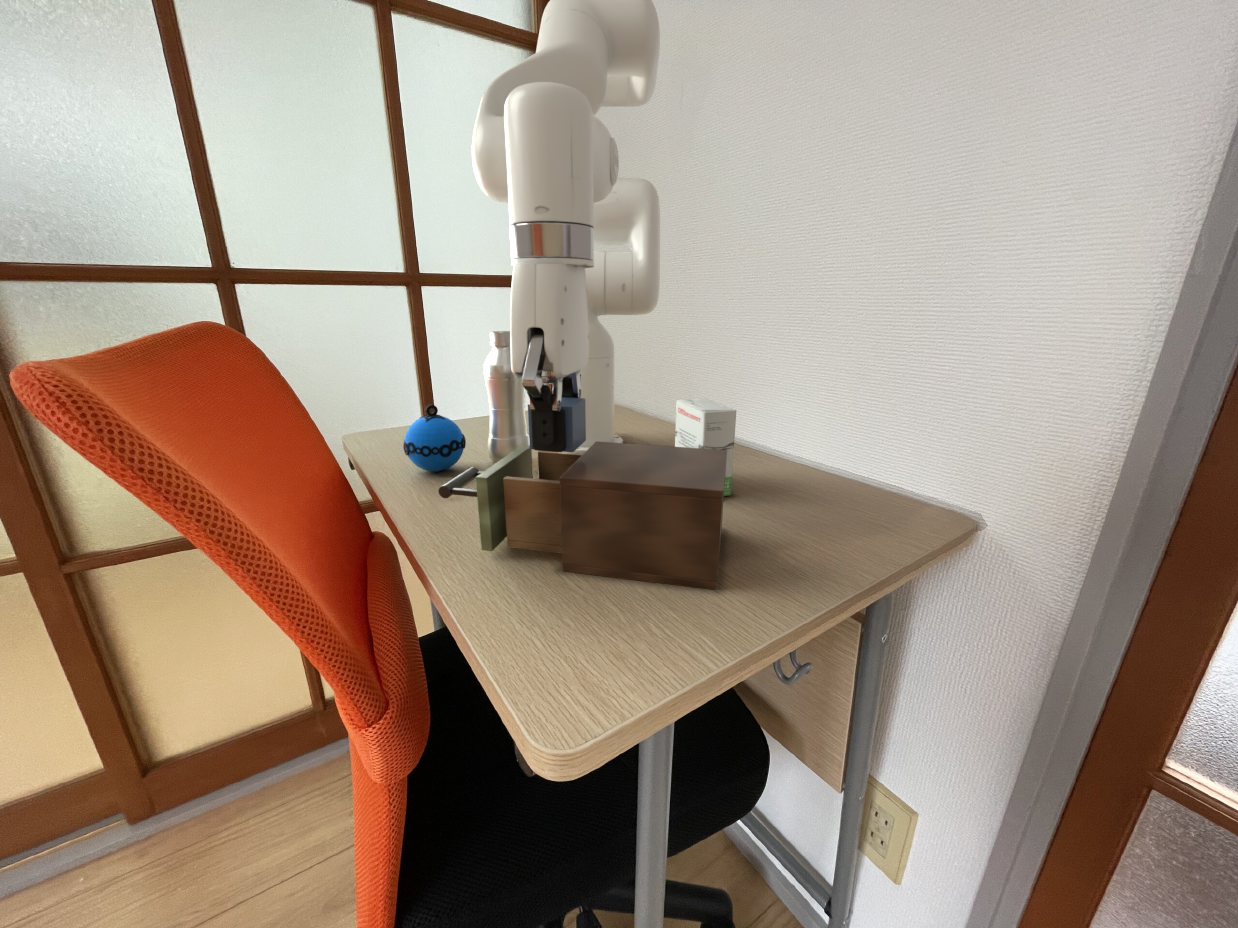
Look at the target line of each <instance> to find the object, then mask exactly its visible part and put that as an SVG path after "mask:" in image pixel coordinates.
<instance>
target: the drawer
mask: <svg viewBox="0 0 1238 928" xmlns="http://www.w3.org/2000/svg"><path fill="white" fill-rule="evenodd" d="M532 450H533V449H530V446H523V445H522V446H520V447H519V448H518V449H516V450H515V451H513V452H512V453H510V454H509V455H507V456H506V457H504V458H503V459H502V460H500V461H499V462H497V463H494V464H492V465H491V466H490V467H488V468H487V469H486V470H484V471H480V470H479V469H478V468H477V467H476V466H470V467H469V468H467V469H466V470H464V471H463V472H461V473H460V474H458V475H457V476H455V477H453V478H452V479H450V480H449V481H446V483H444V484H442V485H440V486H439V487H438V494H439V496H440V497H441V498H443V499H449V498H451V496H462V497H473V498H474V497H475V498H477V499H476V500H477V508H478V509H477V510H478V511H477V512H478V523H479V533H480V535H479V536H480V546H481V551H485V552H493V551H495V549H497V547H498V546H499V545H500V544H501V543H502V542H503V541H504V540H505V539H506V544H507V545H506V546H507V548H511V549H512V548H513V549H521V550H529V551H538V552H547V553H555V554H556V553H557V554H562V537H561V503H560V477H561V476H562V475H563V474H564V473H565V472H566V471H567V470H568V469H569V468H570V467H571V466H572V465H573V464H574V463H575V462H576V461H577V460H578V459H579V458H580V457H581V456H582V455H583V454H584V453H573V452H551V451H537V466H538V467H537V468H538V478H534V473H533V451H532ZM474 481H475V487H476V489H474V488H473V489H472V488H465V487H466V486H468V485H470V484H471V483H472V482H474Z"/></svg>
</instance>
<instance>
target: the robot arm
mask: <svg viewBox="0 0 1238 928" xmlns="http://www.w3.org/2000/svg"><path fill="white" fill-rule="evenodd" d="M660 31H661V30H660V21H659V17H658V13H657V9H656V7H655V3H654V2H653V0H549V1H548V2H547V4H546V6H545V8H544V10H543V13H542V16H541V20H540V25H539V33H538V37H537V43H536V49H535V53H534V54H532V55H530V56H527V58H525V59H523V60H521V61H520V62H518V63H517V64H515V65H514V66H512V67H511V68H509V69H507V70H506V71H504V72H503V73H501V74H499V75H498V76H497V77H496V78H494V80H493V81H491V82H490V83H489V85H488V86H487V88H486V89H485V90H484V92H483V95H482V97H481V100H480V102H479V106H478V109H477V113H476V118H475V122H474V127H473V132H472V142H471V161H472V168H473V173H474V177H475V179H476V182H477V184H478V186H479V187H480V189H481V191H482V192H483V193H484V194H485V195H486V196H487V197H488V198H490V199H491V200H493V201H496V202H499V203H504V204H508V217H509V218H508V219H509V220H508V221H509V241H510V259H511V261H510V263H511V267H513V268H512V276H511V289H510V303H509V304H510V305H509V307H510V308H509V331H510V348H511V370H512V372H513V374H514V375H515V376H516V377H522V385H523V387H524V388H525V389H526V391H525V392H526V393H527V395H528V398H529V399H528V400H529V401H528V402H529V403H528V404H529V408H530V410H531V420H532V443H533V449H532V450H534V451H537V452H539V451H551V452H563V451H564V450H565V449H566V434H565V410H561V400H562V397H566V398H585V414H586V441H585V442H584V443H583V444H582V445H580V446H579V447H578V448H577V449H576V450H575V451H574V452H573V453H585V452H586V451H587V450H588V449H589V448H590V447H591V446H592V445H593V444H594V443H595V442H596V441H597V442H612V443H624V440H623V437H621V436H620V435H618V434H615V344H614V343H615V342H614V340H613V337H612V335H611V334H610V332H609V331H608V330H607V328H606V327H605V326H604V325H603V324H602V322H601V321H600V320H599V317H600V316H616V315H617V316H640V315H647V314H650V313H652V312H653V311H654V310H655V309H656V307H657V305H658V303H659V298H660V289H661V288H660V285H661V282H660V281H661V280H660V279H661V205H660V204H661V203H660V199H659V194H658V190H657V188H656V186H655V185H654V184H653V183H652V182H651V181H649V180H647V179H645V178H639V177H637V178H636V177H619V169H620V167H619V166H620V165H619V160H620V159H619V151H618V144H617V142H616V139H615V137H612V135H611V133H610V131H609V129H608V127H607V126H606V125H605V123H603V121H602V120H600V118H598V117H597V116H595V115H596V114H597V113H598V112H599V111H600V109H601V108H602V107H603V108H604V107H605V108H607V107H614V108H615V107H619V108H621V107H624V108H625V107H627V108H628V107H629V108H630V107H641V106H644V105H646V104H648V103H649V102H650V101H651V99H652V97H653V94H654V92H655V89H656V86H657V85H656V84H657V77H658V69H659V68H658V67H659V59H660V48H661V32H660ZM595 246H626V247H628V248H629V250H630V251H613V250H612V251H610V250H609V251H607V250H595ZM543 372H550V376H549V375H543ZM548 384H549V385H548ZM550 385H551V387H552V390H551V388H550Z"/></svg>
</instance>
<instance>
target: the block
mask: <svg viewBox="0 0 1238 928" xmlns="http://www.w3.org/2000/svg"><path fill="white" fill-rule="evenodd" d="M561 410H565V434H566V449H565V450H564V451H563V452H574V451H575V450H576V449H577V448H578V447H579V446H580V445H582V444H583V443H584V442H585V441H586V414H585V398H566V397H562V400H561ZM527 417H528V418H527V419H528V434H529V444H530V449H531V450H534V449H533V443H532V420H531V410H530V408H529V403H528V404H527Z"/></svg>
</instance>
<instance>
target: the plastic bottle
mask: <svg viewBox="0 0 1238 928" xmlns="http://www.w3.org/2000/svg"><path fill="white" fill-rule="evenodd" d="M489 339H490V341H489V345H490V346H492V347H491V351H490V352H489V353H488V355H487V356H486V359H485V361H484V363H483V367H482V373H483V376H484V377H483V379H484V384H485V388H486V393H487V402H488V405H489V406H488V411H489V422H488V423H489V425H488V426H489V427H488V429H489V430H488V438H487V453H488V456H489V459H490V460H491V461H492V463H494V464H496V463H497V462H499V461H500V460H502V459H503V458H504V457H506V456H507V455H509V454H510V453H512V452H513V451H515V450H516V449H518V448H519V447H520V446H522V445H523V446H530V444H529V429H528V423H527V415H526V392H527V391H526V389H525V388H524V387H523V385H522V377H516V376H515V375H514V374H513V372H512V370H511V348H510V330H497V331H495V330H494V331H490V332H489Z"/></svg>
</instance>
